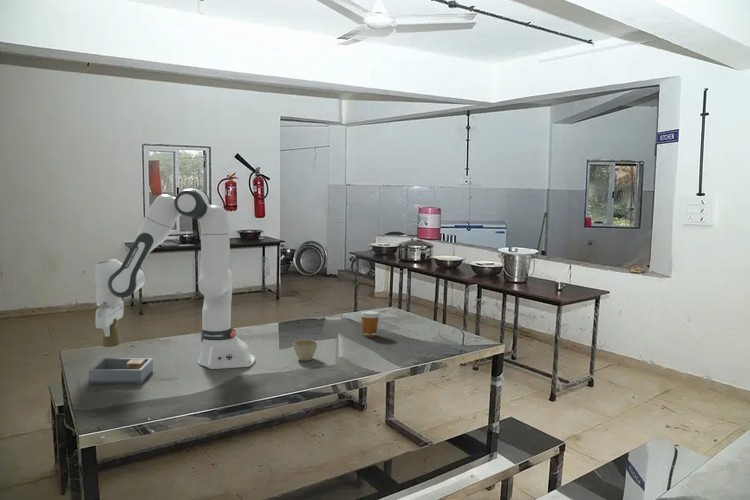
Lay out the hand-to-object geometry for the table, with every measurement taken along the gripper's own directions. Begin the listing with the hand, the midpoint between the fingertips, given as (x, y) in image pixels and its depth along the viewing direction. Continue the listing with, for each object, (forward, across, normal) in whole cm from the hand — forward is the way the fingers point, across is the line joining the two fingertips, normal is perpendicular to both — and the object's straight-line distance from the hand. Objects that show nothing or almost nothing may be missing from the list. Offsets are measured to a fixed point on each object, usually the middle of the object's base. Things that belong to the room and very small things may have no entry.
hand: (110, 334), depth 220 cm
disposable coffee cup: (+15, +42, -108) cm, 117 cm away
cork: (+5, 0, 0) cm, 5 cm away
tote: (+12, -18, -10) cm, 24 cm away
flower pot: (+14, +4, -77) cm, 78 cm away
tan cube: (+11, -18, -15) cm, 26 cm away
